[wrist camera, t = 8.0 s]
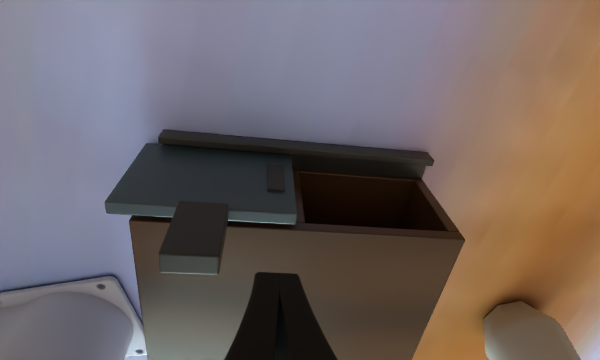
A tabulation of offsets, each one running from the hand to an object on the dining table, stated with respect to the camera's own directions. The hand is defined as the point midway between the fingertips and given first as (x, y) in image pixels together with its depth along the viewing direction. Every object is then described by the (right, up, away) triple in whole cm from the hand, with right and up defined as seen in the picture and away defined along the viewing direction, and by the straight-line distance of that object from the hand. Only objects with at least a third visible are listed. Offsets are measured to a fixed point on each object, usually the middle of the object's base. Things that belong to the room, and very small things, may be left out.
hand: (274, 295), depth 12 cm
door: (-4, +5, +8) cm, 10 cm away
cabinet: (0, 0, +12) cm, 12 cm away
